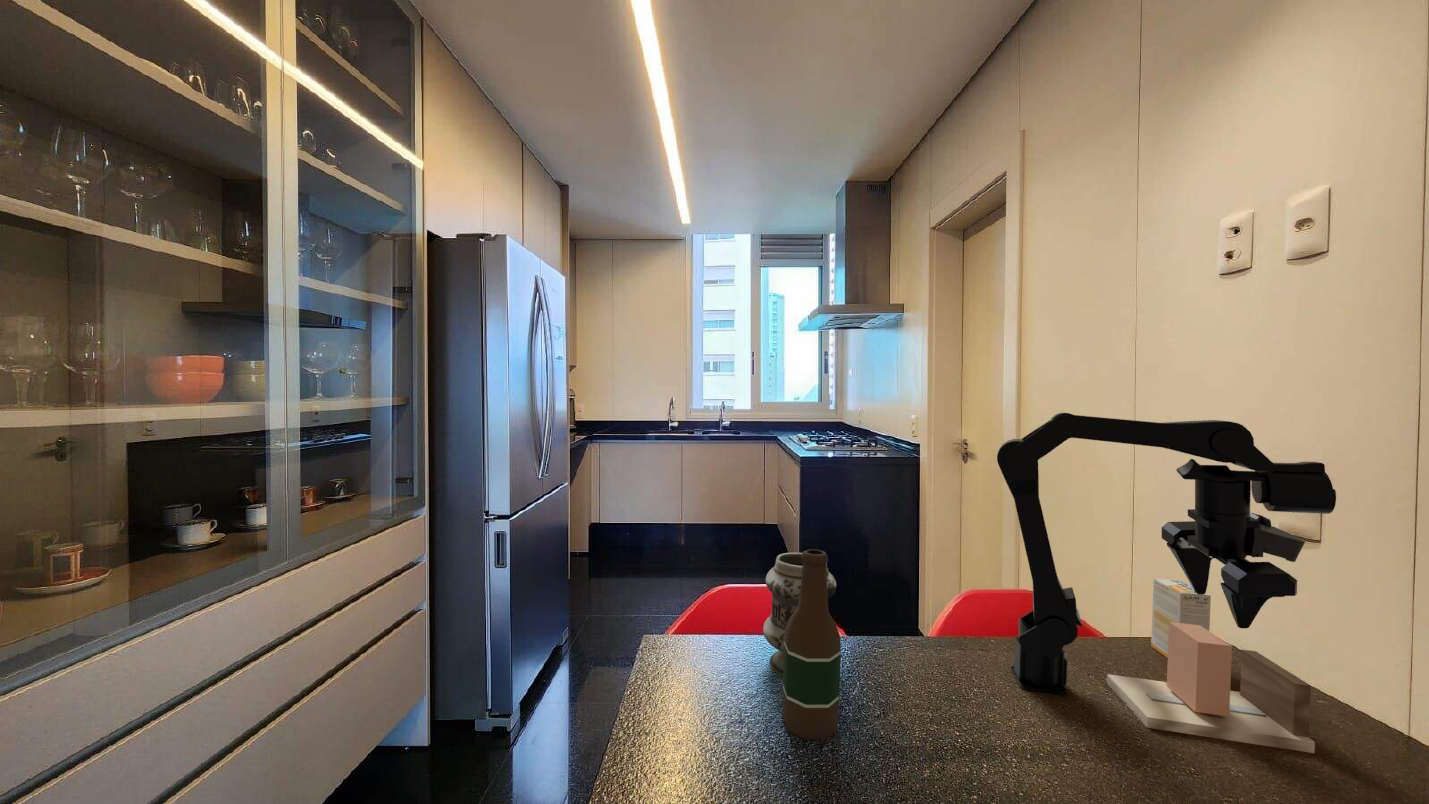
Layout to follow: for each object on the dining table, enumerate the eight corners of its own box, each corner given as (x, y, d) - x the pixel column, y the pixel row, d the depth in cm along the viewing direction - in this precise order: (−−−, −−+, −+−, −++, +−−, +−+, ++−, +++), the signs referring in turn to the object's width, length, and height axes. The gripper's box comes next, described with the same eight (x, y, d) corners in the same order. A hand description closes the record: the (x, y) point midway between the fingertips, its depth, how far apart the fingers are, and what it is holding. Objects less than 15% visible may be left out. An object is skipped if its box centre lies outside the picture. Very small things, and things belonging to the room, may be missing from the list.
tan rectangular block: (1195, 711, 76) (1198, 642, 76) (1166, 686, 83) (1169, 621, 82) (1229, 716, 75) (1232, 646, 75) (1197, 690, 82) (1200, 625, 81)
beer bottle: (841, 715, 76) (846, 547, 76) (835, 748, 69) (840, 563, 68) (787, 703, 79) (792, 541, 78) (775, 734, 71) (781, 556, 71)
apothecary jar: (825, 648, 96) (828, 549, 96) (843, 685, 84) (846, 571, 84) (758, 647, 96) (761, 547, 95) (767, 684, 84) (770, 570, 83)
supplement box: (1210, 671, 92) (1213, 595, 91) (1177, 667, 93) (1181, 592, 92) (1178, 649, 100) (1181, 579, 100) (1149, 646, 101) (1152, 577, 101)
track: (1146, 727, 75) (1149, 667, 75) (1106, 683, 87) (1108, 631, 87) (1314, 753, 70) (1317, 689, 70) (1248, 702, 82) (1250, 648, 82)
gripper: (1353, 533, 65) (1347, 650, 67) (1243, 484, 83) (1241, 579, 85) (1242, 535, 68) (1240, 648, 70) (1159, 488, 86) (1159, 579, 88)
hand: (1220, 609), depth 78 cm, fingers open, 9 cm apart
